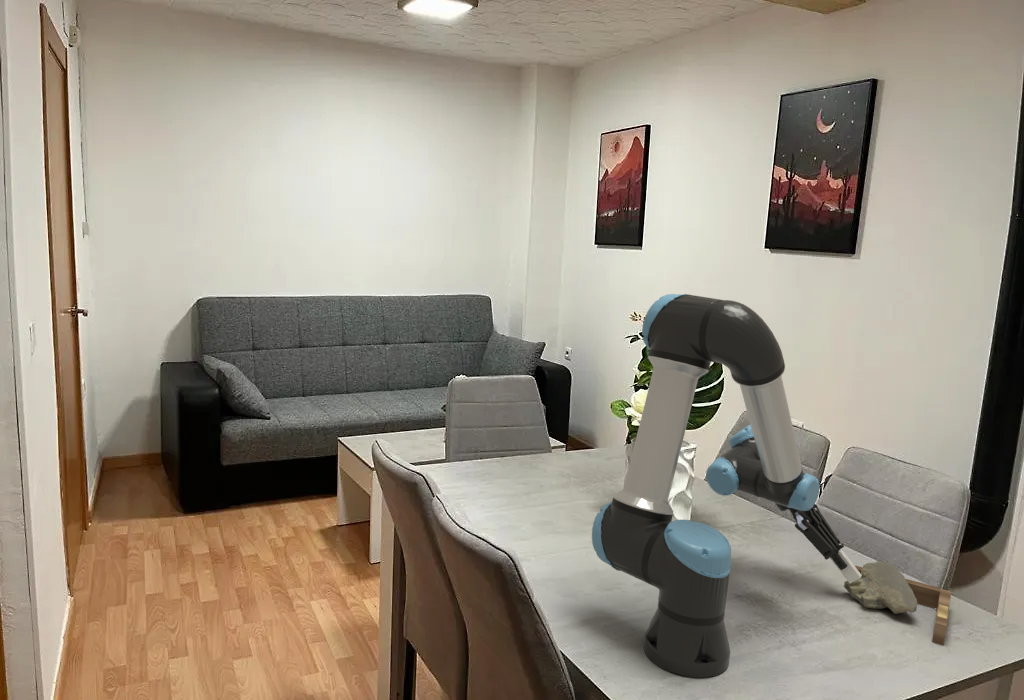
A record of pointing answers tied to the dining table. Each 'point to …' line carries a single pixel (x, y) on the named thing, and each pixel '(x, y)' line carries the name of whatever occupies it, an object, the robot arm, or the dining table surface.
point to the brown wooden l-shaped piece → (932, 605)
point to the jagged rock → (882, 588)
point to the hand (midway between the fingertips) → (855, 579)
